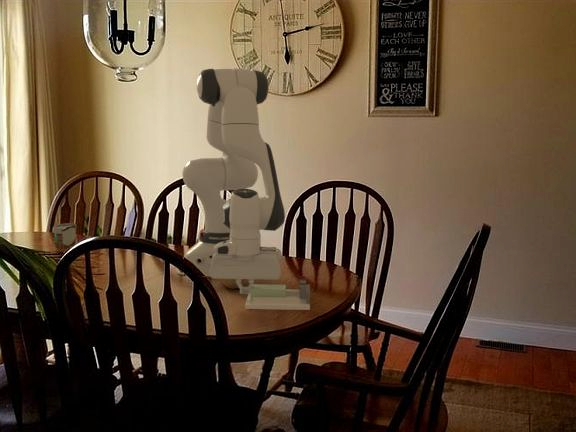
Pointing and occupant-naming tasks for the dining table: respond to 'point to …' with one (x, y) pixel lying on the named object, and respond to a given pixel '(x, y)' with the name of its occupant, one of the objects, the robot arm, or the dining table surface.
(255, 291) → the green block
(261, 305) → the beige shallow tray
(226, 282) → the potato
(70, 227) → the food container
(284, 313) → the dining table surface
